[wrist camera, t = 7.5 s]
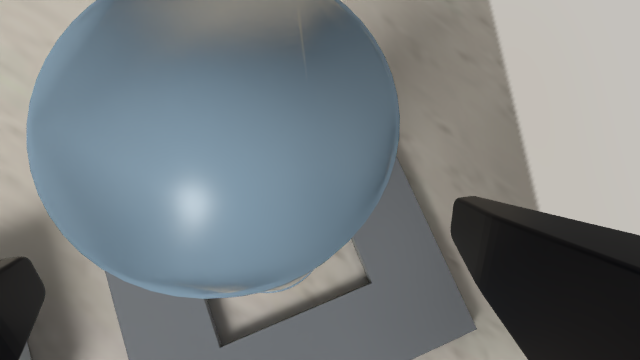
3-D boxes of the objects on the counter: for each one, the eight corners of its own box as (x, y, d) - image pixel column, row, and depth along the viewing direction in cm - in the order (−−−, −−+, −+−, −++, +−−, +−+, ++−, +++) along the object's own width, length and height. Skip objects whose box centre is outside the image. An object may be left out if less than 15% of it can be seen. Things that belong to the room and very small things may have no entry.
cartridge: (336, 269, 19) (460, 211, 5) (238, 309, 18) (78, 368, 4) (299, 176, 20) (321, -75, 6) (205, 211, 19) (-8, 11, 5)
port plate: (471, 327, 18) (476, 329, 18) (164, 470, 16) (160, 476, 15) (350, 67, 21) (352, 61, 21) (79, 155, 19) (72, 151, 18)
